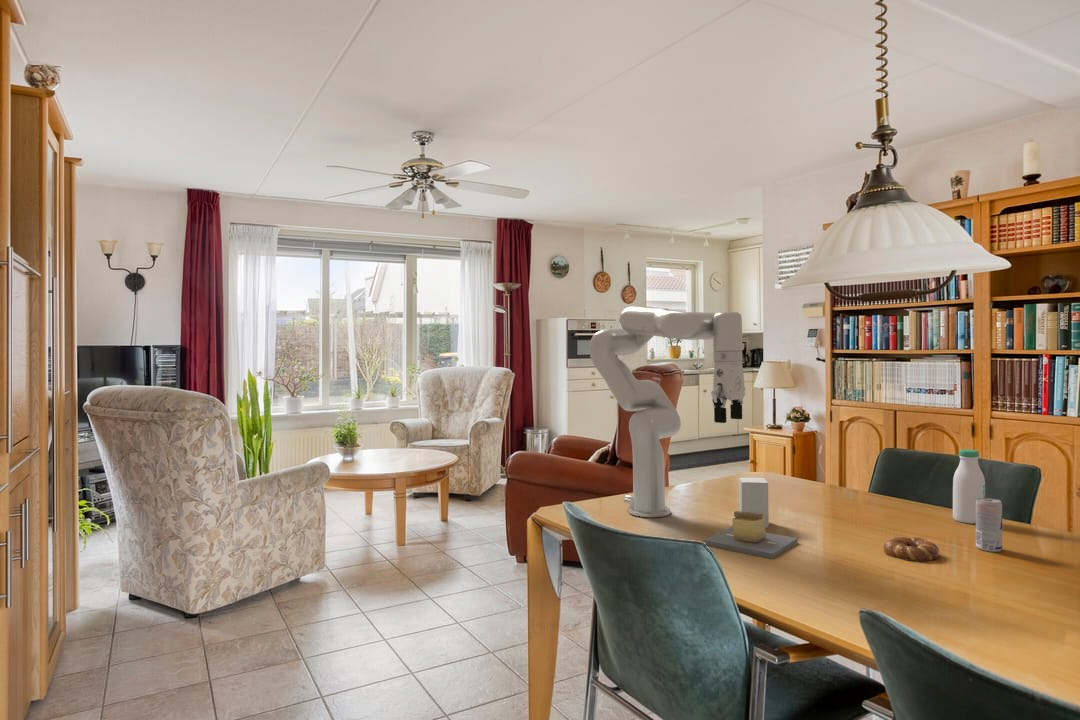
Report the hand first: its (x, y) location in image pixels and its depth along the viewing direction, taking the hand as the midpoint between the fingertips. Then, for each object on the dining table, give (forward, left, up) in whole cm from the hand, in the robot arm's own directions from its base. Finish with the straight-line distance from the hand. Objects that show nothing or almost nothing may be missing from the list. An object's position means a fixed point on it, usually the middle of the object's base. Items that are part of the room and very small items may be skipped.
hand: (728, 420), depth 181 cm
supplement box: (+2, +11, -31) cm, 32 cm away
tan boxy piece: (+9, -7, -29) cm, 31 cm away
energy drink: (+56, +24, -31) cm, 68 cm away
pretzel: (+42, +8, -31) cm, 53 cm away
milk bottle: (+48, +50, -31) cm, 76 cm away
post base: (+9, -7, -30) cm, 32 cm away
